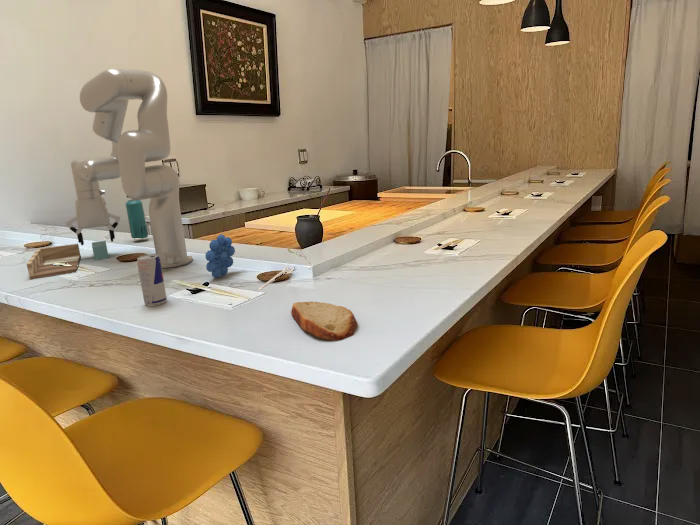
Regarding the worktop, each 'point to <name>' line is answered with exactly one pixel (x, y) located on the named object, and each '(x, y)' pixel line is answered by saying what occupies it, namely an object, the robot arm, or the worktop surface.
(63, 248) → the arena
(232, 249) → the grapes
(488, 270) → the worktop surface
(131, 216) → the beverage bottle
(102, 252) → the teal block
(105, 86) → the robot arm
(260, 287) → the fork
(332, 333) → the bread slice
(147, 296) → the energy drink
